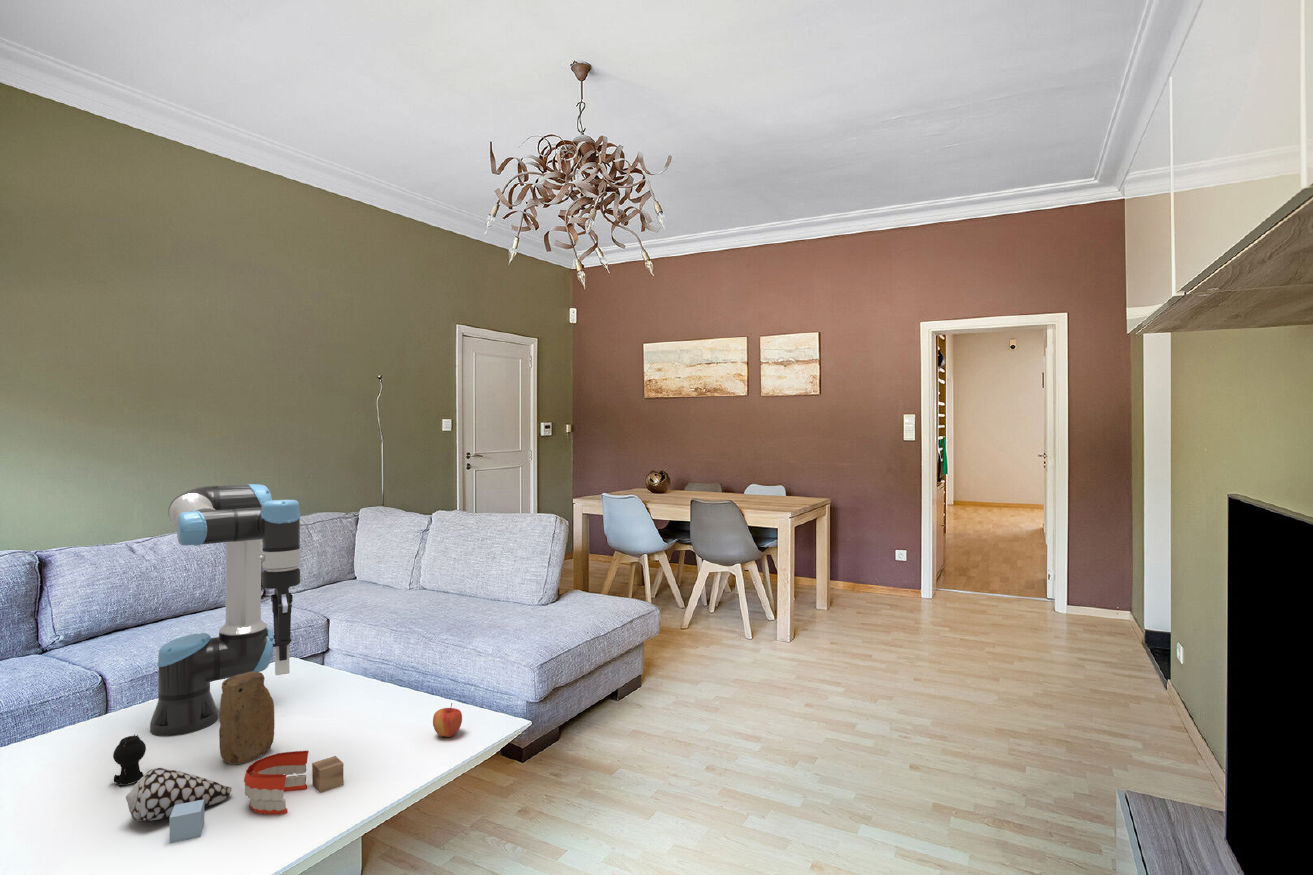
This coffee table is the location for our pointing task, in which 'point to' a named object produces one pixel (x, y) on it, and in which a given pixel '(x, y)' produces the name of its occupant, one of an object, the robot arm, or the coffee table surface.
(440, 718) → the apple
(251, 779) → the toy
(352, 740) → the coffee table surface
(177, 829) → the slate block
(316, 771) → the walnut block
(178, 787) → the seashell
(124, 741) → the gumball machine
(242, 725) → the brown rock
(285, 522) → the robot arm
